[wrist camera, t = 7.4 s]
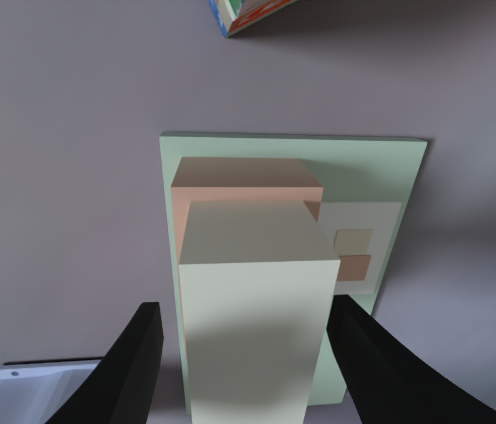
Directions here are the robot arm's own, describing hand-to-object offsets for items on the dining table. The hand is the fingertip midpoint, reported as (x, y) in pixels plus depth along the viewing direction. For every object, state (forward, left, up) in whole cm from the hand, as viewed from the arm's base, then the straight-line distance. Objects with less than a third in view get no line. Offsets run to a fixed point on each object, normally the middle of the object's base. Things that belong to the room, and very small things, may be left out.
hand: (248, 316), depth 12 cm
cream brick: (0, 0, -2) cm, 2 cm away
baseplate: (+3, -6, -7) cm, 10 cm away
